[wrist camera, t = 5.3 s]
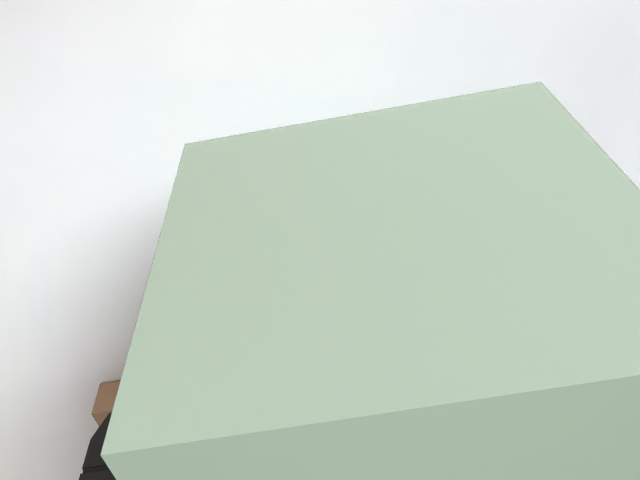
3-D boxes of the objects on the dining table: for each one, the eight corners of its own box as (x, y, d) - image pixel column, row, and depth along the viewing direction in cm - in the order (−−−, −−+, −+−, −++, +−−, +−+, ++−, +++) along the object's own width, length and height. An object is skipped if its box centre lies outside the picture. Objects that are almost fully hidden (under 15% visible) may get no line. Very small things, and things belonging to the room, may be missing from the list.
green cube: (541, 81, 12) (788, 353, 6) (526, 335, 16) (664, 638, 10) (184, 144, 12) (100, 455, 6) (262, 376, 16) (252, 689, 10)
